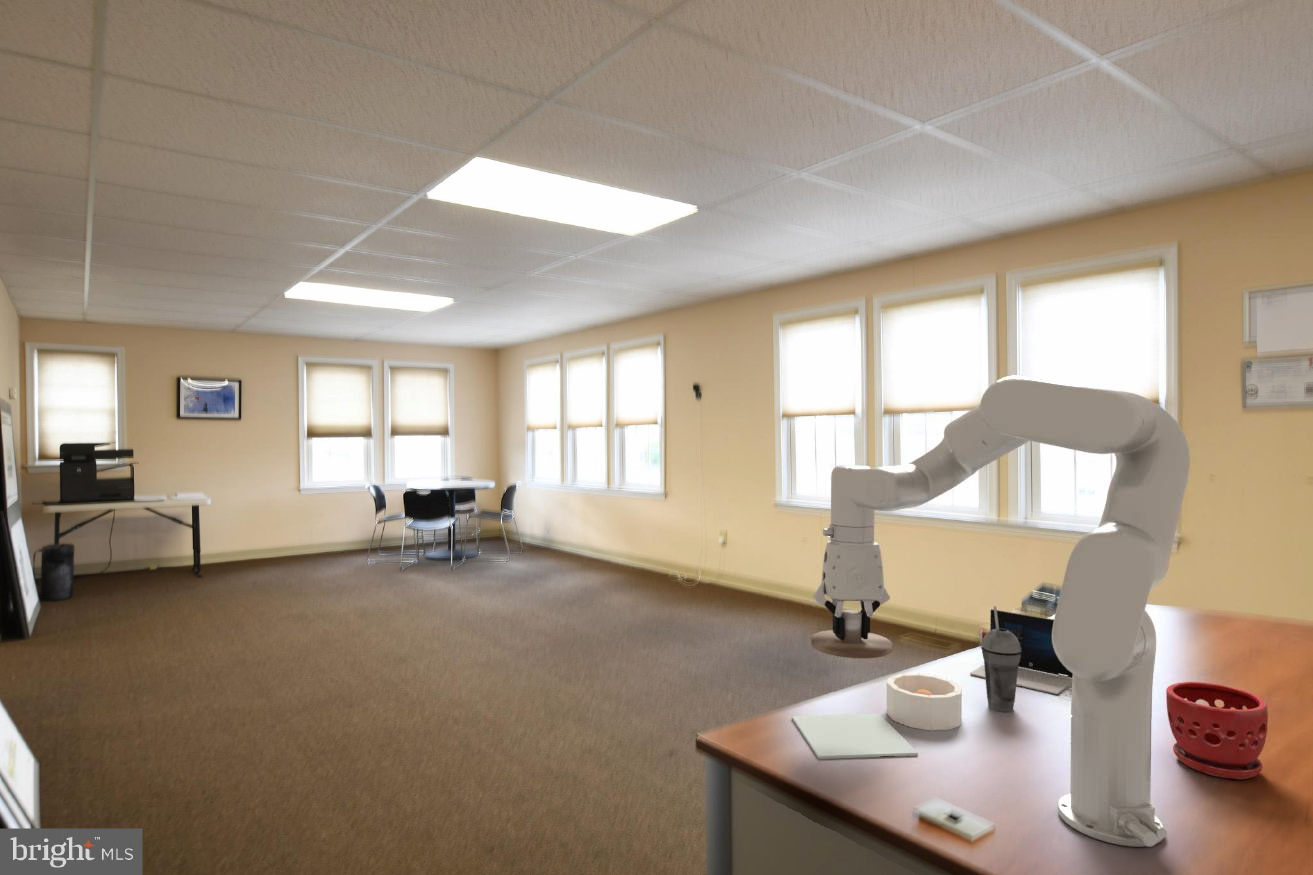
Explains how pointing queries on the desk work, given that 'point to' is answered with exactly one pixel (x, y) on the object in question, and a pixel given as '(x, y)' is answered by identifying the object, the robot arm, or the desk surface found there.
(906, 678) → the bowl
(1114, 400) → the robot arm
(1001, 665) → the beverage cup
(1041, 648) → the laptop
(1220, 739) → the plant pot
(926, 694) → the ball
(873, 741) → the mat
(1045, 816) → the desk surface
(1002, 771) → the desk surface
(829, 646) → the lid
